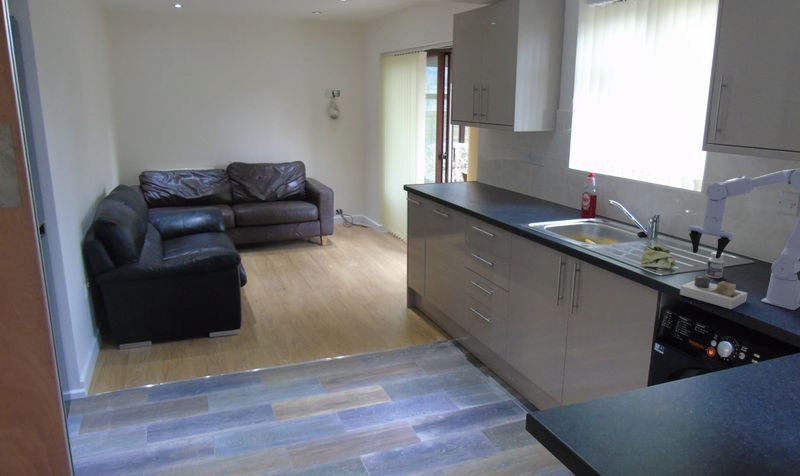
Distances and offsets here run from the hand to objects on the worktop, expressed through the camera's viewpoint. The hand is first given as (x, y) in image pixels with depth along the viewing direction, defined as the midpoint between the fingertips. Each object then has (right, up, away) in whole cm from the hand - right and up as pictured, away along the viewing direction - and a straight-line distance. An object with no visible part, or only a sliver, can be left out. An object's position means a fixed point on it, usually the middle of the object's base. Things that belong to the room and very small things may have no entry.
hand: (706, 255), depth 199 cm
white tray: (-5, -14, -12) cm, 19 cm away
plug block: (-2, -15, -15) cm, 21 cm away
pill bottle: (+9, -8, +12) cm, 17 cm away
